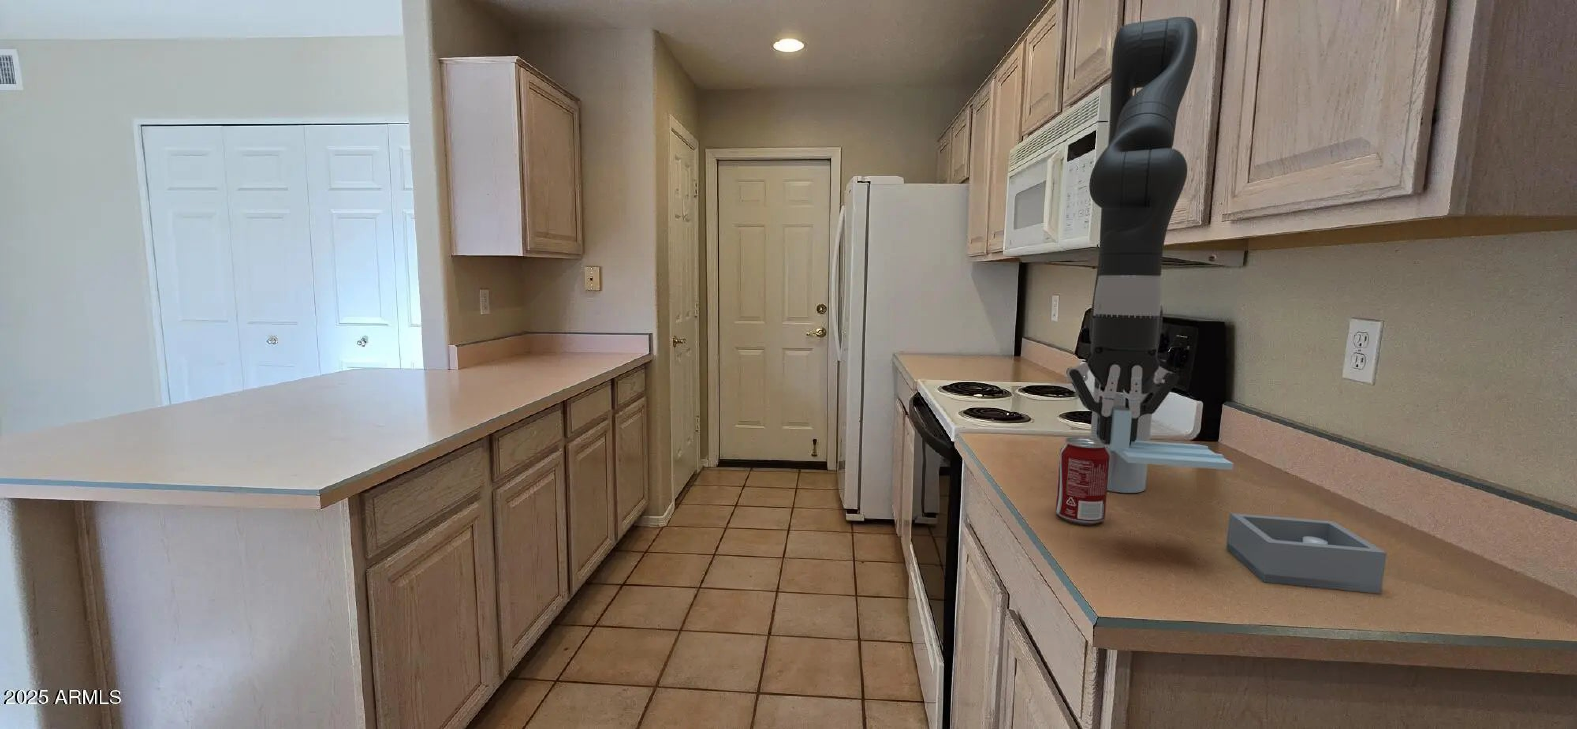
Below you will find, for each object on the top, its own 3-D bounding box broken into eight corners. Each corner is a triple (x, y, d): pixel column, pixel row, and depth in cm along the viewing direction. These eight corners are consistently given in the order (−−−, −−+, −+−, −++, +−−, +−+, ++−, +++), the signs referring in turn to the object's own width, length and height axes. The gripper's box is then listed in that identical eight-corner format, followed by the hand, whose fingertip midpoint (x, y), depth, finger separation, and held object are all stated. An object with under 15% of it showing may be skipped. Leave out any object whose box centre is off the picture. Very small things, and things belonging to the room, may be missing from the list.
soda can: (1110, 529, 93) (1116, 448, 91) (1060, 524, 94) (1066, 445, 92) (1097, 512, 99) (1103, 437, 98) (1051, 509, 101) (1056, 434, 99)
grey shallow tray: (1226, 548, 86) (1230, 513, 86) (1328, 557, 84) (1333, 521, 83) (1263, 582, 77) (1268, 542, 76) (1380, 593, 74) (1386, 552, 73)
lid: (1097, 443, 89) (1101, 401, 88) (1199, 450, 86) (1204, 406, 85) (1117, 461, 79) (1121, 414, 79) (1232, 470, 77) (1238, 421, 76)
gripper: (1174, 312, 84) (1162, 440, 86) (1062, 309, 87) (1054, 434, 89) (1197, 314, 77) (1184, 455, 79) (1075, 311, 80) (1065, 447, 82)
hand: (1115, 443), depth 84 cm, fingers closed on lid
